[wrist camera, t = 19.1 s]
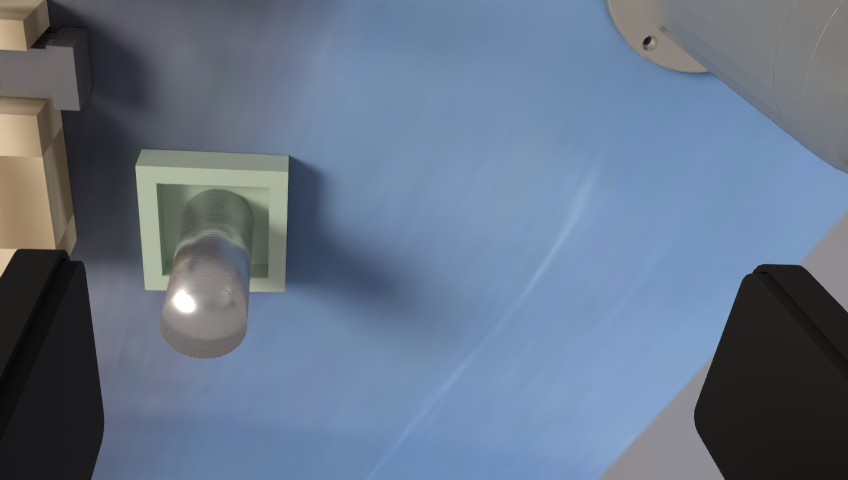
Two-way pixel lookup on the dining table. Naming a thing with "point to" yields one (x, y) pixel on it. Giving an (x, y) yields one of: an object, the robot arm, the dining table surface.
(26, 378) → the robot arm
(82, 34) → the bar
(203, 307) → the brushed metal cylinder
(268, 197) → the square tray
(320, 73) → the dining table surface
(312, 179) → the dining table surface
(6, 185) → the socket block
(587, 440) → the dining table surface
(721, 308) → the dining table surface
